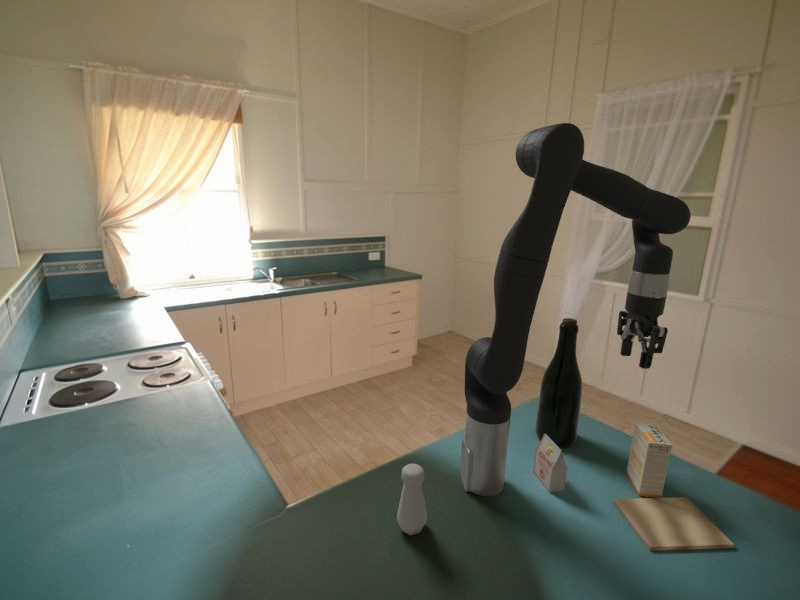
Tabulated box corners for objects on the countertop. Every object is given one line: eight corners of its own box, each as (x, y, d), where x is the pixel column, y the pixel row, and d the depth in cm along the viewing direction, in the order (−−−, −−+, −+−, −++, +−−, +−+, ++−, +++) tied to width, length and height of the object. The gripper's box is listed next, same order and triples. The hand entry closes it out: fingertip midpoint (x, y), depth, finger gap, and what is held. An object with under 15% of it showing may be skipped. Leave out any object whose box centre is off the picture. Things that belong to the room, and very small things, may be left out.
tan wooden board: (649, 550, 73) (650, 547, 73) (612, 502, 85) (613, 499, 85) (733, 547, 74) (734, 544, 74) (685, 500, 86) (686, 497, 86)
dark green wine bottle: (564, 453, 101) (581, 328, 93) (527, 435, 108) (539, 318, 100) (583, 438, 108) (600, 320, 100) (546, 421, 115) (559, 311, 107)
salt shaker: (430, 520, 79) (432, 462, 76) (422, 542, 74) (424, 482, 71) (402, 512, 81) (403, 456, 78) (392, 533, 76) (393, 474, 73)
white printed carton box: (547, 470, 95) (552, 432, 92) (564, 490, 88) (569, 450, 86) (533, 472, 94) (537, 434, 91) (548, 492, 88) (554, 452, 85)
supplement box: (662, 499, 86) (674, 445, 83) (638, 496, 87) (648, 442, 84) (647, 474, 94) (657, 424, 91) (625, 471, 95) (634, 421, 91)
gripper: (612, 284, 96) (602, 350, 100) (651, 299, 82) (638, 374, 86) (642, 285, 97) (631, 350, 101) (687, 300, 83) (671, 374, 87)
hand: (634, 361), depth 94 cm, fingers open, 6 cm apart
